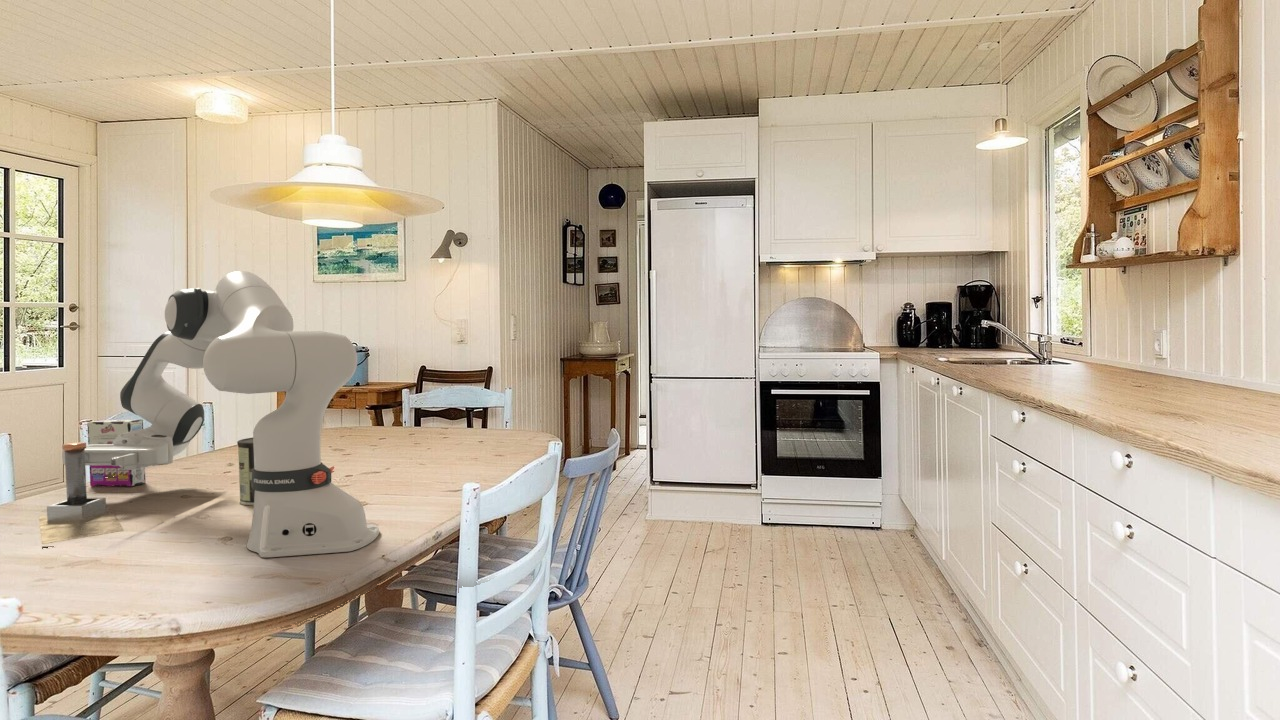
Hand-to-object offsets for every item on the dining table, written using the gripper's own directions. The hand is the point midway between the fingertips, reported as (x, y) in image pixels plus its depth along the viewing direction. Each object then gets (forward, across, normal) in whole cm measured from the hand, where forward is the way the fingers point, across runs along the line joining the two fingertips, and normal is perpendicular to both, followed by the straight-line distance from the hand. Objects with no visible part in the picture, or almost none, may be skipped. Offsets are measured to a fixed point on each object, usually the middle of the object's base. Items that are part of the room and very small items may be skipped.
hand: (91, 462), depth 151 cm
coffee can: (-10, +31, +11) cm, 35 cm away
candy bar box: (-28, -14, +12) cm, 34 cm away
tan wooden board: (+11, +5, +11) cm, 16 cm away
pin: (+5, 0, +10) cm, 11 cm away
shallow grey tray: (+5, 0, +10) cm, 11 cm away
